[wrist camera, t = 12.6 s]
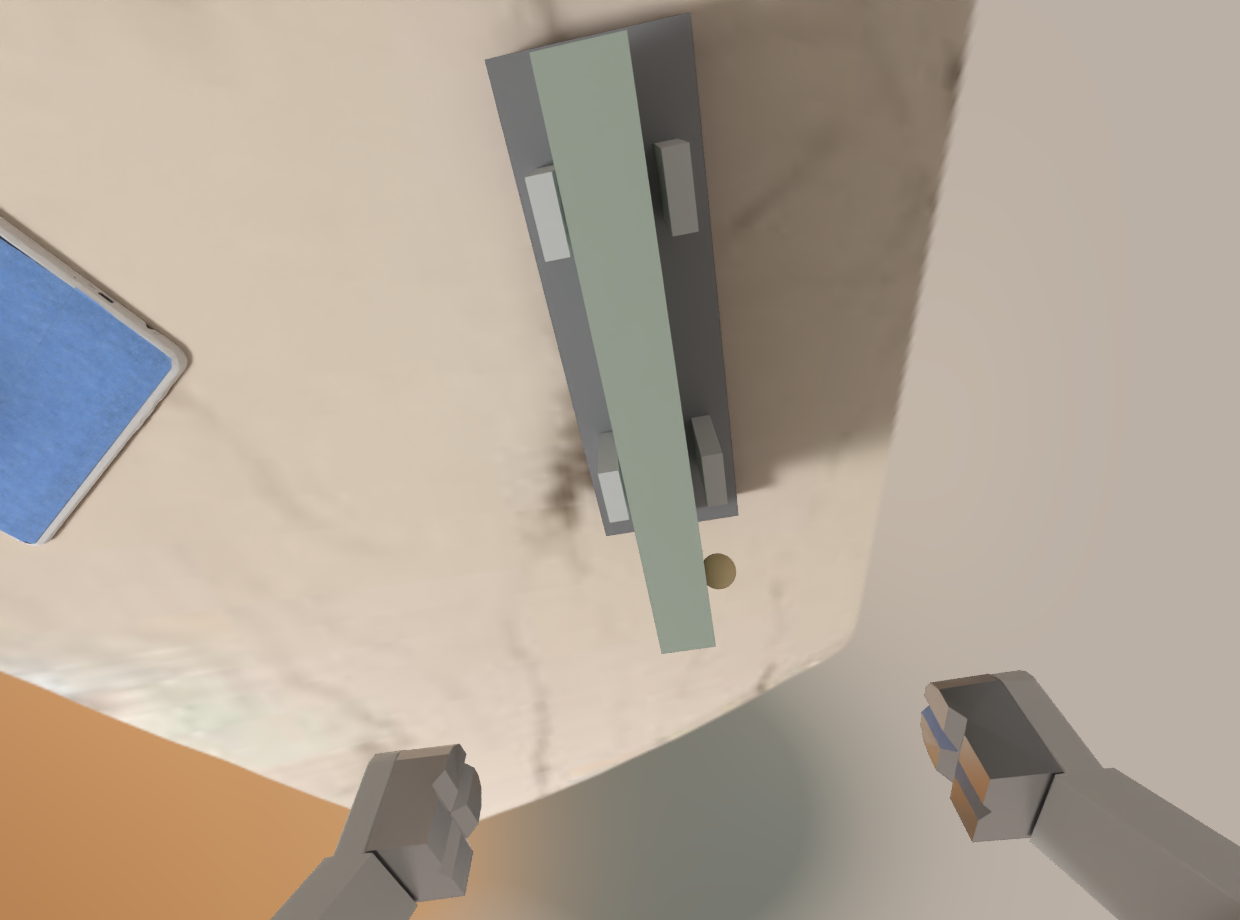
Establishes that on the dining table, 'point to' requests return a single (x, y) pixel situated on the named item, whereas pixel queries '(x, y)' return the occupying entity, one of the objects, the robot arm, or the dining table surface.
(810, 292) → the dining table surface
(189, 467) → the dining table surface
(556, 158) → the cabinet door
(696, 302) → the hinge base
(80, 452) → the tablet computer
